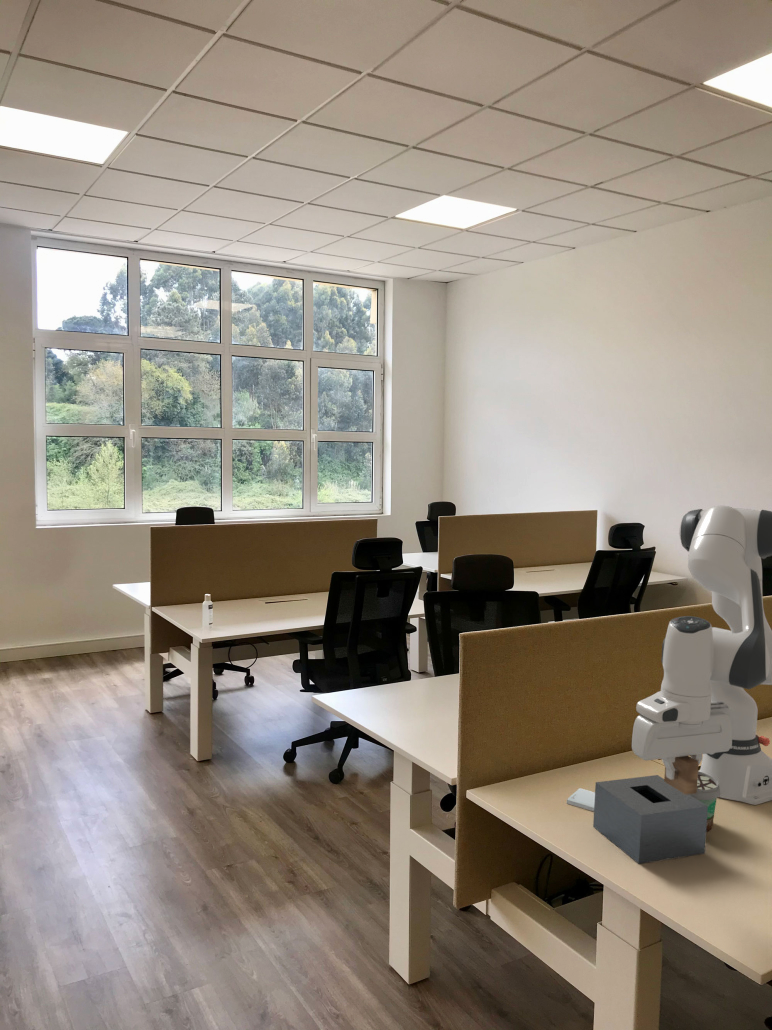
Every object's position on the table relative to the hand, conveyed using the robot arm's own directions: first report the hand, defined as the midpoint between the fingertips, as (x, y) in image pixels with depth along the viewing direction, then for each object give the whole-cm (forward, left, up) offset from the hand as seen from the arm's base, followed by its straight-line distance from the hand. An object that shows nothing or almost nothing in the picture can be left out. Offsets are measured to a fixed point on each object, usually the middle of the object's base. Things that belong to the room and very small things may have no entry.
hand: (680, 777), depth 148 cm
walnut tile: (0, 0, -2) cm, 2 cm away
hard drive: (-5, -33, -22) cm, 40 cm away
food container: (-22, -18, -21) cm, 35 cm away
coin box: (-6, -16, -21) cm, 27 cm away
